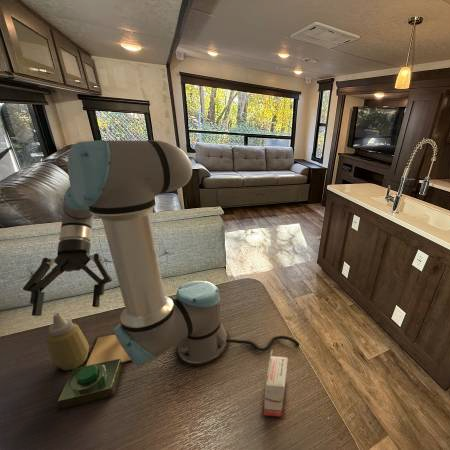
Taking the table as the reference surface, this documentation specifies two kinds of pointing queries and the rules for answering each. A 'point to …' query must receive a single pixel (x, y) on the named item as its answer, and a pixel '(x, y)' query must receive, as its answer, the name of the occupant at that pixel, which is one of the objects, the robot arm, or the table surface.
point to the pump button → (87, 375)
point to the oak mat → (107, 351)
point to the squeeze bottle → (66, 343)
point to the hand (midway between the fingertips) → (67, 311)
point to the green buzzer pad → (91, 384)
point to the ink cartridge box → (275, 386)
